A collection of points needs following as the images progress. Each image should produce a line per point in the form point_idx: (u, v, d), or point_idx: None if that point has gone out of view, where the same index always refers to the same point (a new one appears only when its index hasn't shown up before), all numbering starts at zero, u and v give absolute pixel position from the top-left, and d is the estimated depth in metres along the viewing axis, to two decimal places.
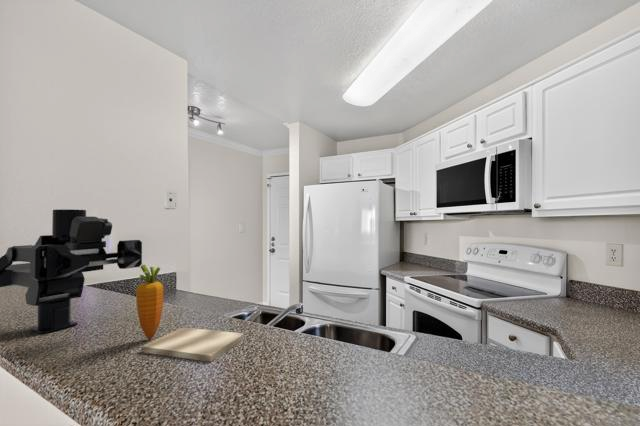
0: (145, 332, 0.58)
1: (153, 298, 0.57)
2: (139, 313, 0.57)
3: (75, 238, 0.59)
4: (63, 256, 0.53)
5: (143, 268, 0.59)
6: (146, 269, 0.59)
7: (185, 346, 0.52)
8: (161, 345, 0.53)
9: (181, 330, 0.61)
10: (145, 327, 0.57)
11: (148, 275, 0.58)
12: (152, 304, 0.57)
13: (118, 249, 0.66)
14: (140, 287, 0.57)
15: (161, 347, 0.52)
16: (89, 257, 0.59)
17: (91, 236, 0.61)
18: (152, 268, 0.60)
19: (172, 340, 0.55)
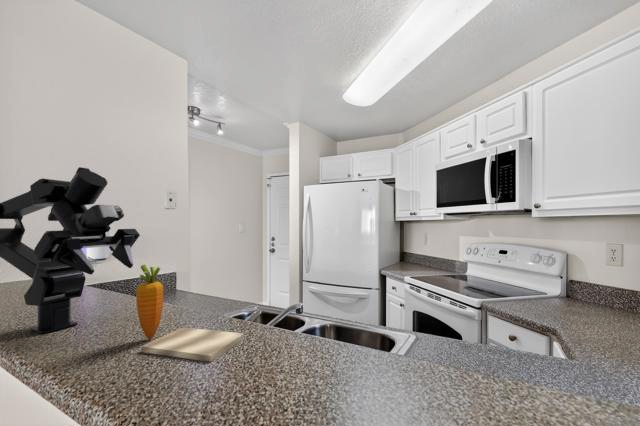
0: (145, 332, 0.58)
1: (153, 298, 0.57)
2: (139, 313, 0.57)
3: (87, 223, 0.62)
4: (73, 252, 0.58)
5: (143, 268, 0.59)
6: (146, 269, 0.59)
7: (185, 346, 0.52)
8: (161, 345, 0.53)
9: (181, 330, 0.61)
10: (145, 327, 0.57)
11: (148, 275, 0.58)
12: (152, 304, 0.57)
13: (116, 233, 0.70)
14: (140, 287, 0.57)
15: (161, 347, 0.52)
16: (90, 243, 0.63)
17: (101, 223, 0.64)
18: (152, 268, 0.60)
19: (172, 340, 0.55)
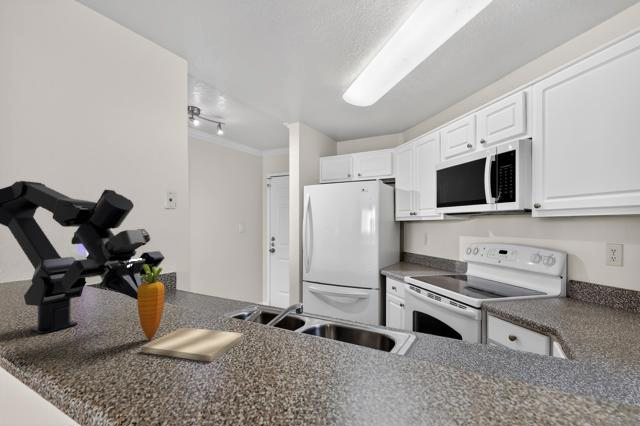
0: (145, 332, 0.58)
1: (154, 299, 0.57)
2: (140, 313, 0.57)
3: (114, 250, 0.59)
4: (122, 278, 0.59)
5: (145, 268, 0.59)
6: (148, 269, 0.59)
7: (185, 346, 0.52)
8: (161, 345, 0.53)
9: (181, 330, 0.61)
10: (145, 327, 0.57)
11: (150, 275, 0.58)
12: (153, 305, 0.57)
13: (141, 257, 0.67)
14: (141, 287, 0.57)
15: (161, 347, 0.52)
16: None
17: (128, 248, 0.62)
18: (154, 268, 0.60)
19: (172, 340, 0.55)
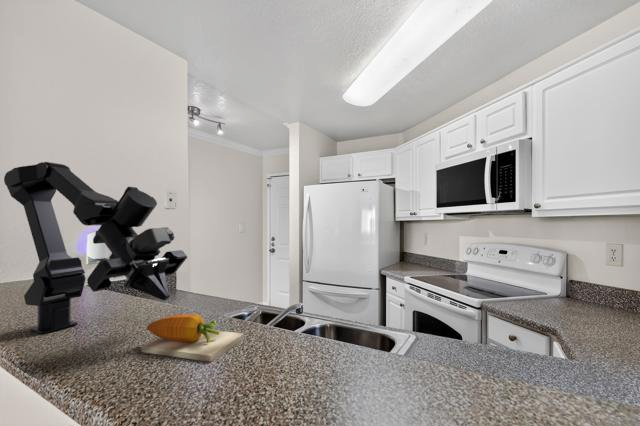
0: None
1: None
2: (166, 337, 0.54)
3: (139, 249, 0.57)
4: (147, 278, 0.57)
5: (210, 328, 0.53)
6: None
7: (185, 346, 0.52)
8: (161, 345, 0.53)
9: None
10: (157, 335, 0.55)
11: None
12: None
13: (164, 256, 0.65)
14: (191, 337, 0.53)
15: (161, 347, 0.52)
16: None
17: (152, 247, 0.59)
18: (214, 324, 0.55)
19: None
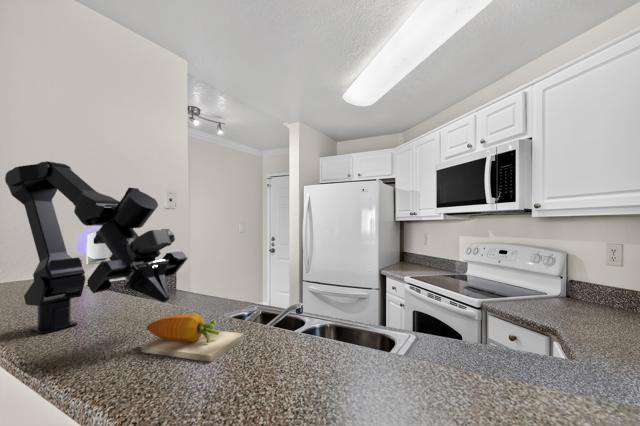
0: (152, 333, 0.56)
1: None
2: (166, 337, 0.54)
3: (139, 250, 0.57)
4: (147, 280, 0.57)
5: (210, 328, 0.53)
6: None
7: (185, 346, 0.52)
8: (161, 345, 0.53)
9: None
10: (157, 336, 0.55)
11: None
12: None
13: (164, 257, 0.65)
14: (191, 338, 0.53)
15: (161, 347, 0.52)
16: None
17: (153, 249, 0.59)
18: (214, 324, 0.55)
19: None
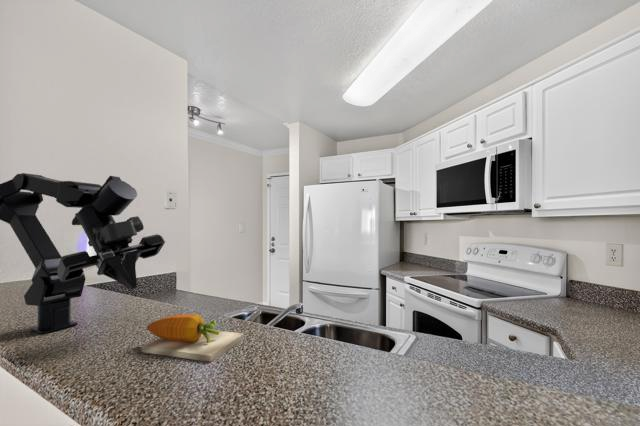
0: (152, 333, 0.56)
1: None
2: (166, 337, 0.54)
3: (104, 241, 0.58)
4: (115, 269, 0.59)
5: (210, 328, 0.53)
6: None
7: (185, 346, 0.52)
8: (161, 345, 0.53)
9: None
10: (157, 336, 0.55)
11: None
12: None
13: (141, 241, 0.66)
14: (191, 338, 0.53)
15: (161, 347, 0.52)
16: None
17: (120, 238, 0.60)
18: (214, 324, 0.55)
19: None
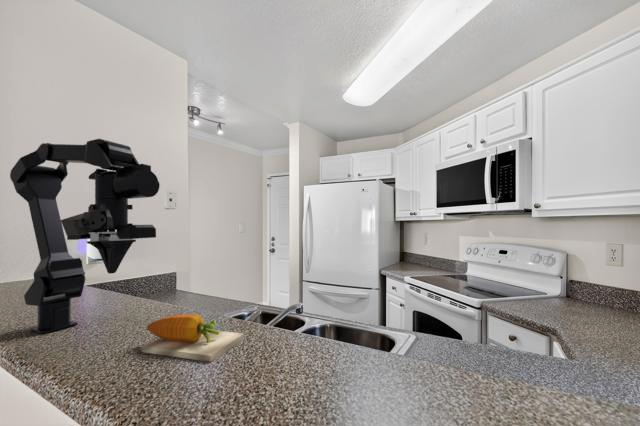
0: (152, 333, 0.56)
1: None
2: (166, 337, 0.54)
3: None
4: None
5: (210, 328, 0.53)
6: None
7: (185, 346, 0.52)
8: (161, 345, 0.53)
9: None
10: (157, 336, 0.55)
11: None
12: None
13: None
14: (191, 338, 0.53)
15: (161, 347, 0.52)
16: None
17: None
18: (214, 324, 0.55)
19: None
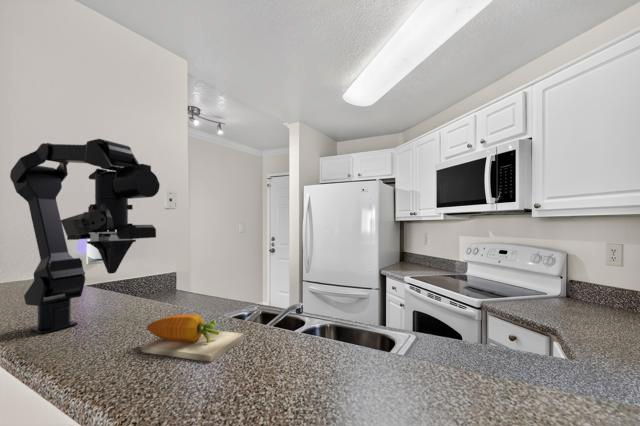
0: (152, 333, 0.56)
1: None
2: (166, 337, 0.54)
3: None
4: None
5: (210, 328, 0.53)
6: None
7: (185, 346, 0.52)
8: (161, 345, 0.53)
9: None
10: (157, 336, 0.55)
11: None
12: None
13: None
14: (191, 338, 0.53)
15: (161, 347, 0.52)
16: None
17: None
18: (214, 324, 0.55)
19: None
